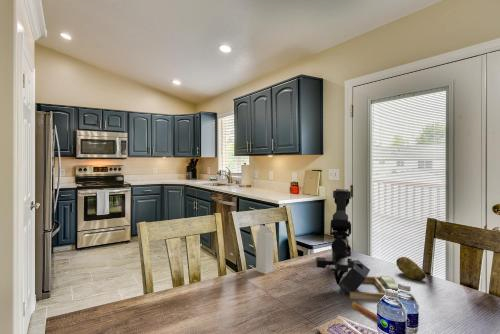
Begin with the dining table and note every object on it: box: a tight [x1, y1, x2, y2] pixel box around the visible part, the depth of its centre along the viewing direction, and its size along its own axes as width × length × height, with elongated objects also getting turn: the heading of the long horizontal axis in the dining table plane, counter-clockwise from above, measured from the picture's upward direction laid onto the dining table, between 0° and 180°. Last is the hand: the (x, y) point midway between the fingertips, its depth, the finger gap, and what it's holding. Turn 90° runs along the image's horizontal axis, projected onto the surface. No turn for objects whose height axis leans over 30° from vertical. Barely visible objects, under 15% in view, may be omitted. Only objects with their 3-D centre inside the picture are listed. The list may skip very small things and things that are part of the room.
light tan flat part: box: [340, 274, 399, 301], centre depth 122 cm, size 17×22×4 cm
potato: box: [396, 256, 426, 281], centre depth 137 cm, size 8×13×8 cm, turn 8°
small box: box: [338, 259, 371, 296], centre depth 121 cm, size 11×6×10 cm
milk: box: [255, 224, 275, 275], centre depth 141 cm, size 6×6×22 cm
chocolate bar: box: [350, 301, 378, 323], centre depth 104 cm, size 3×12×2 cm, turn 27°
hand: (337, 284), depth 123 cm, fingers closed, pressing on small box
